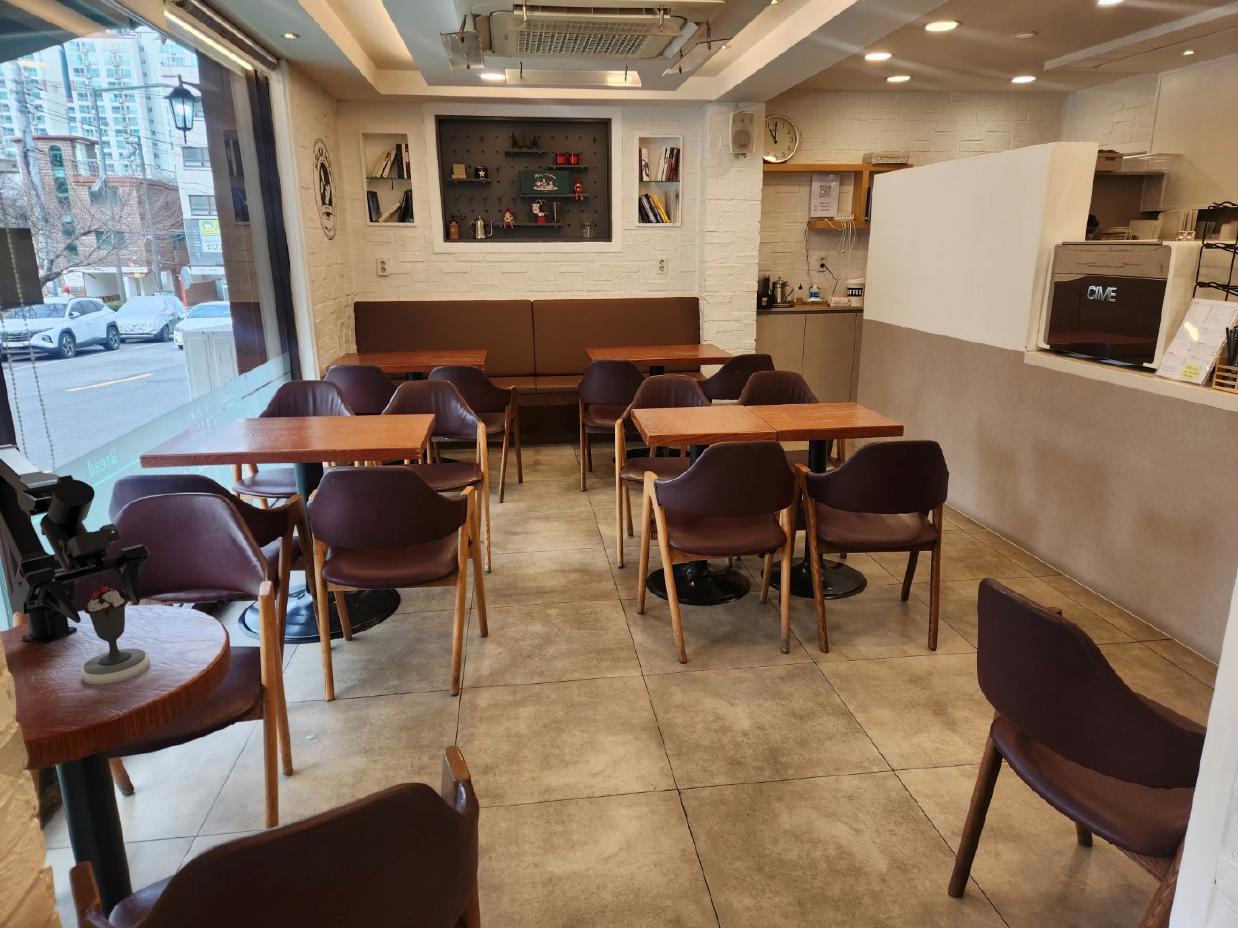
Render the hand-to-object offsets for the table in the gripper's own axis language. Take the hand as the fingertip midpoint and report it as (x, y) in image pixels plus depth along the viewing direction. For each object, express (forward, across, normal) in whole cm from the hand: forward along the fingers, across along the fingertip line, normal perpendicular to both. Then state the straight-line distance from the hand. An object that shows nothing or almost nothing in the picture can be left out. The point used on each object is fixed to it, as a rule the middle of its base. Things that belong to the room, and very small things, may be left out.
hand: (109, 612), depth 133 cm
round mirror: (+7, 0, +8) cm, 11 cm away
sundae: (+6, 0, +7) cm, 9 cm away
